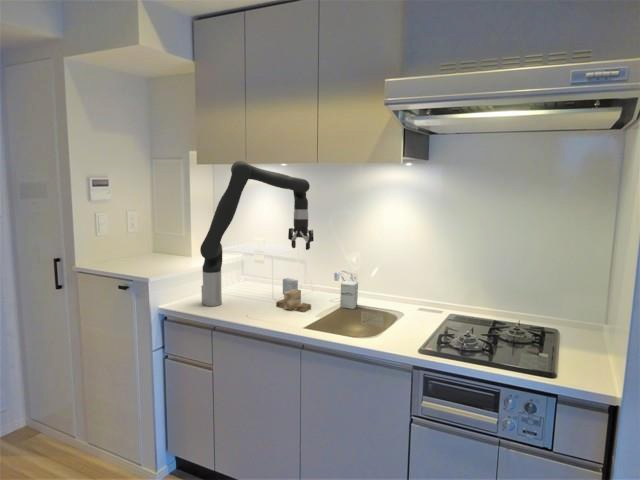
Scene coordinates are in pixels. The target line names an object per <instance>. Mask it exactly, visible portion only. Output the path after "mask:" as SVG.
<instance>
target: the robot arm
mask: <svg viewBox="0 0 640 480" xmlns="http://www.w3.org/2000/svg"><path fill="white" fill-rule="evenodd" d="M230 172H231V175H230V179H229V183H228V186H227V188H226V190H225V192H224V193H223V194H222V196H221V198H220V200H219V201H218V204H217V206H216V209H215V211H214V215H213V218H212V220H211V222H210V226H209V229H208V231H207V234H206V235H205V238H204V239H203V241H202V243H201V246H200V249H199V250H200V255H201V257H203V259H204V262H203V265H202V285H201V304H202V305H203V306H206V307H217V306H220V305H222V302H223V301H222V295H223V294H222V266H223V246H222V243H221V241H222V239H223V236H224V235H225V233H226V232H227V229H228V228H229V226H230V224H231V223H232V221H233V219H234V217H235V214H236V211H237V209H238V206H239V203H240V200H241V197H242V195H243V191H244V189H245V188H246V185H247V183H248V182H249V180H253V181H257V182H260V183H264V184H267V185H269V186H272V187H276V188H279V189H283V190H290V191H292V192H293V198H294V199H293V200H294V206H293V207H294V208H293V209H294V210H293V227H290V228H288V237H287V239H288V240H290V241H291V248H292V249H296V247H297V245H296V241H297V239H298V238H303V240H304V241H305V250H306V251H308V250H310V249H311V242H312V243H313V242H314V230H313V229H309V200H308V198H307V192H308V191H309V190H310V188H311V187H310V183H309V181H308V180H307V179H304V178H300V177H296V176H295V177H294V176H290V175H288V174H284V173H281V172H275V171H271V170H267V169H262V168H259V167H256V166H253V165H251V164H249V163H247V162H246V161H242V160H238V161H235V162H234V163H233V164H232V165H231V167H230Z"/></svg>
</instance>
